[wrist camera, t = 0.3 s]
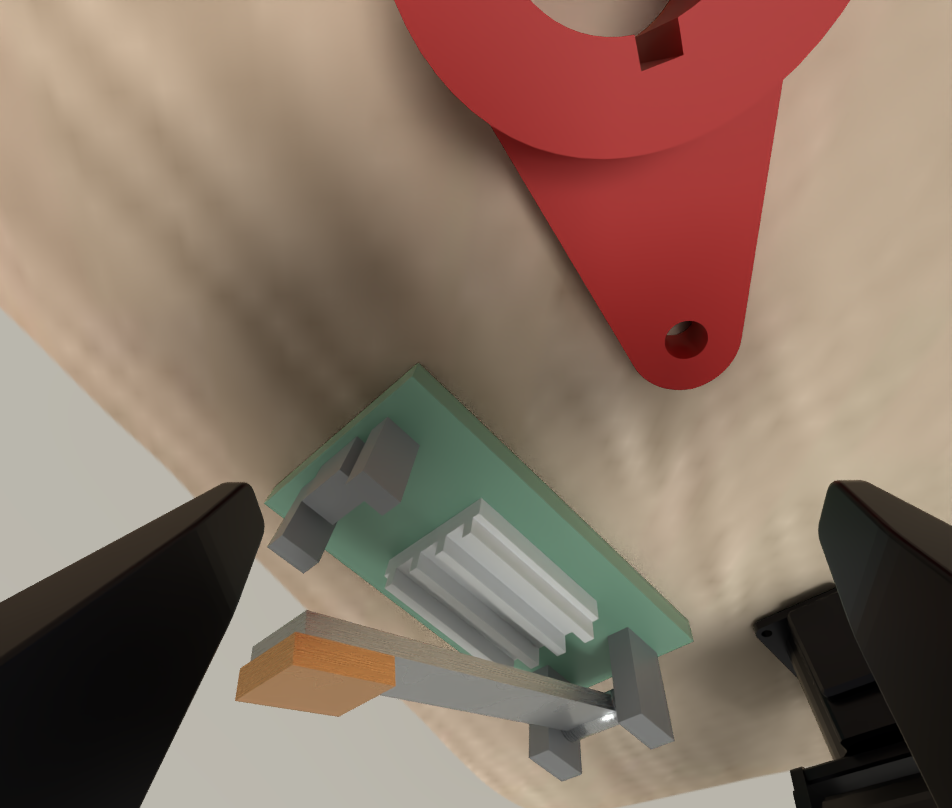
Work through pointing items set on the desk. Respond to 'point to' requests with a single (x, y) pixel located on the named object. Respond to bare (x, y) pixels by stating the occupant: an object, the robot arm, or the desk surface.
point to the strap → (407, 678)
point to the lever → (638, 151)
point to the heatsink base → (481, 555)
